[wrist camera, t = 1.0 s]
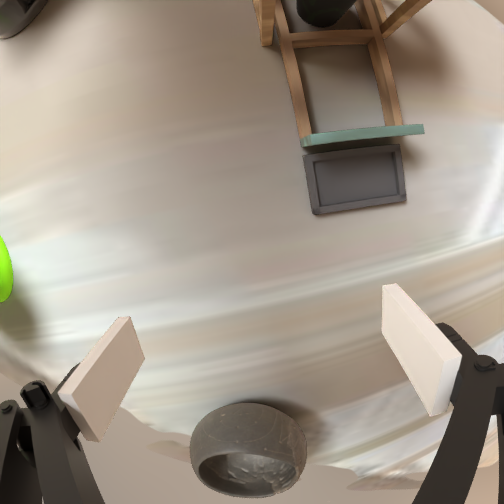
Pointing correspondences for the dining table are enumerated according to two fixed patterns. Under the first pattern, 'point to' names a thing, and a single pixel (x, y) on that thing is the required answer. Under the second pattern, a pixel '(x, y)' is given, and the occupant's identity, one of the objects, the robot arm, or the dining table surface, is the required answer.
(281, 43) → the sled
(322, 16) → the cup
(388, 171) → the tray
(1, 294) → the wineglass
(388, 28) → the brown wooden frame
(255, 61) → the dining table surface
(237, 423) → the bowl
